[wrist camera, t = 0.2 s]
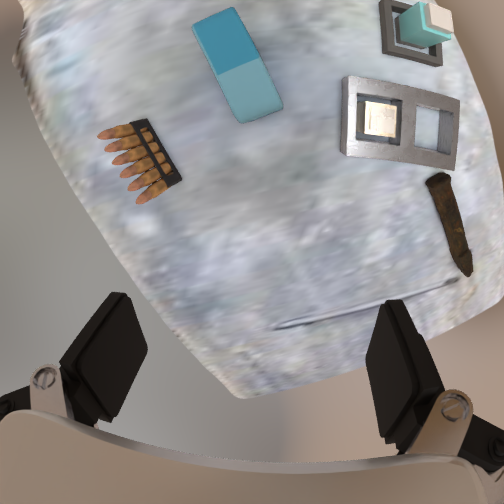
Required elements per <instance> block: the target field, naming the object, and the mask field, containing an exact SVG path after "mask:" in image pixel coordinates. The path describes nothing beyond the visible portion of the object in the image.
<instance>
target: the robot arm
mask: <svg viewBox="0 0 504 504" xmlns="http://www.w3.org/2000/svg"><path fill="white" fill-rule="evenodd" d="M147 348H148V347H147V343H146V341H145V338H144V335H143V333H142V330H141V327H140V325H139V321H138V319H137V316H136V313H135V310H134V307H133V304H132V301H131V298H129V297H128V296H127V294H126V293H120V292H111V293H110V294H109V296H108V297H107V298H106V299H105V301H104V302H103V303H102V304H101V306H100V307H99V308H98V310H97V311H96V312H95V313H94V315H93V316H92V317H91V319H90V320H89V321H88V322H87V324H86V325H85V326H84V328H83V329H82V330H81V332H80V333H79V335H78V336H77V337H76V339H75V340H74V341H73V343H72V344H71V345H70V347H69V348H68V350H67V351H66V353H65V354H64V356H63V357H62V358H61V360H60V361H59V363H60V365H61V367H60V368H58V367H57V366H55V365H53V364H46V365H43V366H41V367H39V368H38V369H36V370H35V371H34V373H33V374H32V376H31V378H30V385H29V386H26V387H24V388H21V389H19V390H16V391H13V392H11V393H8V394H5V395H3V396H2V397H0V504H504V430H502V429H500V428H498V427H496V426H494V425H492V424H491V423H489V422H487V421H485V420H483V419H481V418H479V417H477V416H476V415H474V414H473V404H472V402H471V400H470V398H469V397H468V396H467V395H466V394H465V393H463V392H462V391H459V390H456V389H450V390H446V391H445V388H444V386H443V384H442V381H441V378H440V376H439V373H438V371H437V368H436V366H435V364H434V361H433V359H432V356H431V354H430V352H429V349H428V347H427V345H426V343H425V340H424V338H423V337H422V335H421V334H418V332H417V330H416V327H415V325H414V323H413V321H412V319H411V317H410V315H409V313H408V311H407V309H406V307H405V305H404V303H403V301H402V300H401V299H399V300H386V302H385V304H381V306H380V309H379V313H378V316H377V320H376V324H375V327H374V331H373V334H372V338H371V341H370V344H369V347H368V351H367V354H366V367H367V372H368V376H369V380H370V385H371V390H372V395H373V400H374V405H375V410H376V416H377V421H378V427H379V433H380V436H381V437H382V438H383V437H384V438H385V443H386V444H391V443H396V449H398V451H397V452H396V454H395V455H394V456H386V457H378V458H370V459H361V460H351V461H335V462H316V463H276V462H256V461H244V460H232V459H224V458H216V457H209V456H203V455H197V454H191V453H185V452H180V451H175V450H170V449H166V448H161V447H157V446H153V445H149V444H145V443H141V442H137V441H134V440H130V439H127V438H124V437H120V436H117V435H114V434H111V433H108V432H104V431H102V430H99V428H98V425H97V421H98V419H100V420H103V421H106V422H110V423H111V422H112V420H113V418H114V417H116V416H117V415H118V413H119V411H120V409H121V407H122V405H123V403H124V400H125V398H126V396H127V394H128V392H129V390H130V388H131V385H132V383H133V381H134V379H135V377H136V375H137V373H138V371H139V369H140V367H141V365H142V363H143V361H144V359H145V356H146V354H147V350H148V349H147Z"/></svg>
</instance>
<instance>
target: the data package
mask: <svg viewBox="0 0 504 504" xmlns="http://www.w3.org/2000/svg"><path fill="white" fill-rule="evenodd" d="M192 31H193V33H194V35H195V37H196V39H197V41H198V43H199V45H200V47H201V49H202V51H203V53H204V55H205V57H206V59H207V61H208V63H209V65H210V67H211V69H212V71H213V73H214V75H215V77H216V79H217V81H218V83H219V85H220V87H221V89H222V91H223V94H224V96H225V98H226V100H227V102H228V104H229V106H230V108H231V110H232V112H233V114H234V116H235V118H236V119H237V121H238V122H239V123H246V122H250V121H254V120H256V119H258V118H261V117H263V116H266V115H269V114H271V113H274V112H276V111H279V110H282V109H283V103H282V101H281V99H280V97H279V94H278V92H277V90H276V88H275V86H274V83H273V81H272V79H271V77H270V75H269V73H268V71H267V69H266V67H265V65H264V63H263V61H262V59H261V57H260V55H259V53H258V51H257V49H256V47H255V45H254V43H253V41H252V39H251V37H250V35H249V33H248V32H247V30H246V28H245V26H244V24H243V22H242V21H241V19H240V17H239V15H238V13H237V12H236V10H235V8H233V7H230V8H228V9H226V10H223V11H221V12H219V13H216V14H214V15H212V16H210V17H208V18H205V19H203V20H201V21H199V22H197V23H195V24H193V25H192Z"/></svg>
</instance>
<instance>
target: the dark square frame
mask: <svg viewBox="0 0 504 504" xmlns="http://www.w3.org/2000/svg"><path fill="white" fill-rule="evenodd" d="M410 7H412V5H409V4H405V3H402V2H398V1H394V0H381V1H380V2H379V11H380V21H381V34H382V53H383V54H387V55H392V56H396V57H401V58H405V59H409V60H413V61H417V62H420V63H424V64H427V65H431V66H434V67H438V66H443V58H442V44H441V43H438V44H435V45H432V46H430V47H429V55H428V54H425V53H421V52H418V51H414V50H410V49H406V48H402V47H398V46H395V44H394V30H393V19H392V11H393V12H397V13H401V14H402V13H403V12H405V11H406V10H408V9H409V8H410Z"/></svg>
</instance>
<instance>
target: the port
mask: <svg viewBox="0 0 504 504" xmlns="http://www.w3.org/2000/svg"><path fill="white" fill-rule="evenodd" d="M357 95H359V96H366V97H373V98H380V99H385V100H391V105H387V104H381V103H374V102H368V101H364V102H357ZM416 106H420V107H425V108H429V109H433V110H437V111H440V119H439V135H438V147H437V151H436V150H431V149H426V148H420V147H415V146H414V140H415V126H416ZM459 112H460V100H457V99H454V98H451V97H448V96H444V95H441V94H437V93H434V92H430V91H426V90H422V89H418V88H414V87H410V86H406V85H401V84H396V83H391V82H386V81H380V80H374V79H368V78H362V77H354V76H347V77H345V78H344V79H342V121H341V146H340V152H342V153H343V154H345V155H346V156H355V157H365V158H374V159H382V160H390V161H398V162H405V163H412V164H418V165H424V166H430V167H436V168H442V169H447V170H452V171H454V169H455V162H456V153H457V143H458V131H459ZM356 131H357V132H361V133H364V134H372V135H380V136H387V137H390V142H382V141H375V140H367V139H358V138H355V136H356Z"/></svg>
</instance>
